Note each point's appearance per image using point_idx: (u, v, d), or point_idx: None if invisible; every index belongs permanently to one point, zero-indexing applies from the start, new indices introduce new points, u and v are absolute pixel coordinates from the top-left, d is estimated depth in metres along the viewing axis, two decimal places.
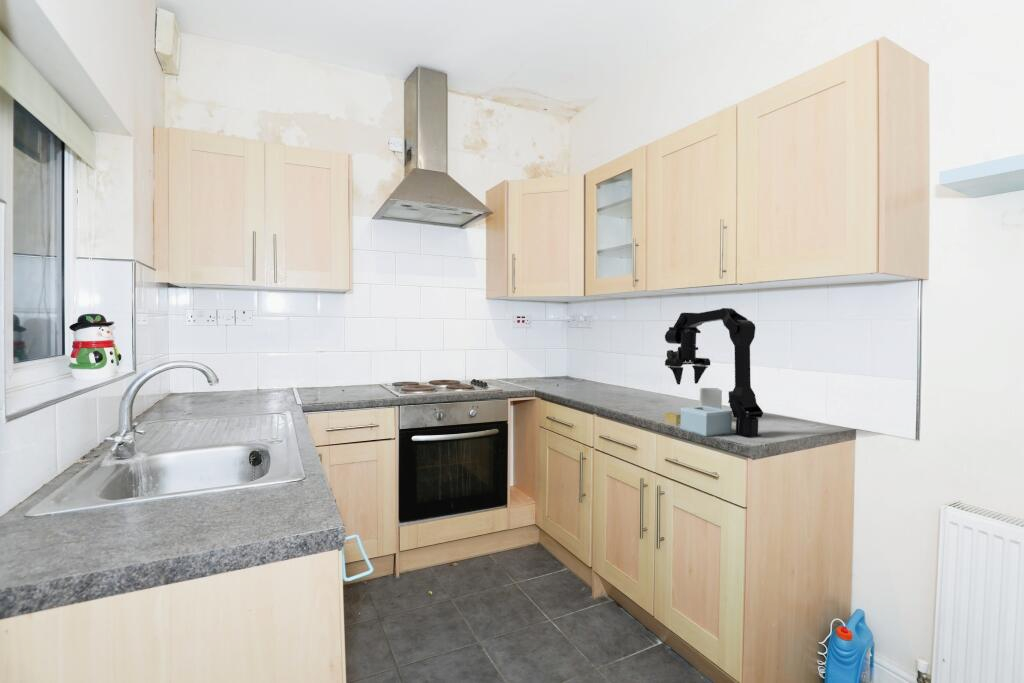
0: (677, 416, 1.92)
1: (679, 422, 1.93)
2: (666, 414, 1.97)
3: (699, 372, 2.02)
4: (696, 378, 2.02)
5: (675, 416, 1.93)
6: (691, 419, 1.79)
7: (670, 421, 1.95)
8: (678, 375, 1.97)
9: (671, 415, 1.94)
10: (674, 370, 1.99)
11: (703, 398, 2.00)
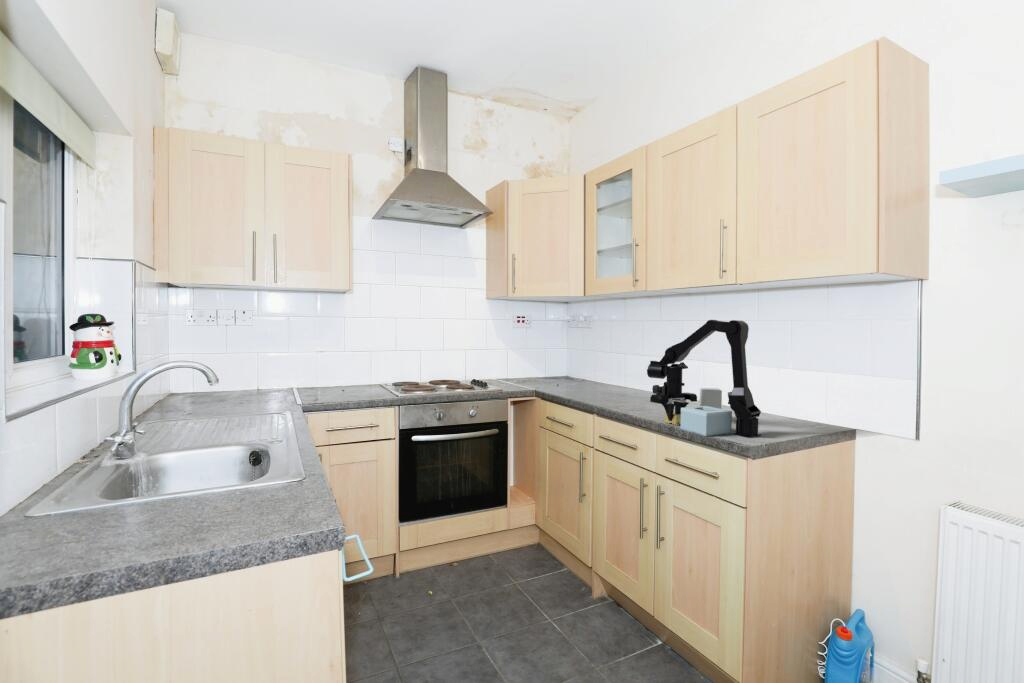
0: (677, 416, 1.92)
1: (679, 422, 1.93)
2: (666, 414, 1.97)
3: (680, 408, 1.95)
4: None
5: (675, 416, 1.93)
6: (691, 419, 1.79)
7: (670, 421, 1.95)
8: (670, 411, 1.93)
9: None
10: (666, 406, 1.95)
11: (703, 398, 2.00)
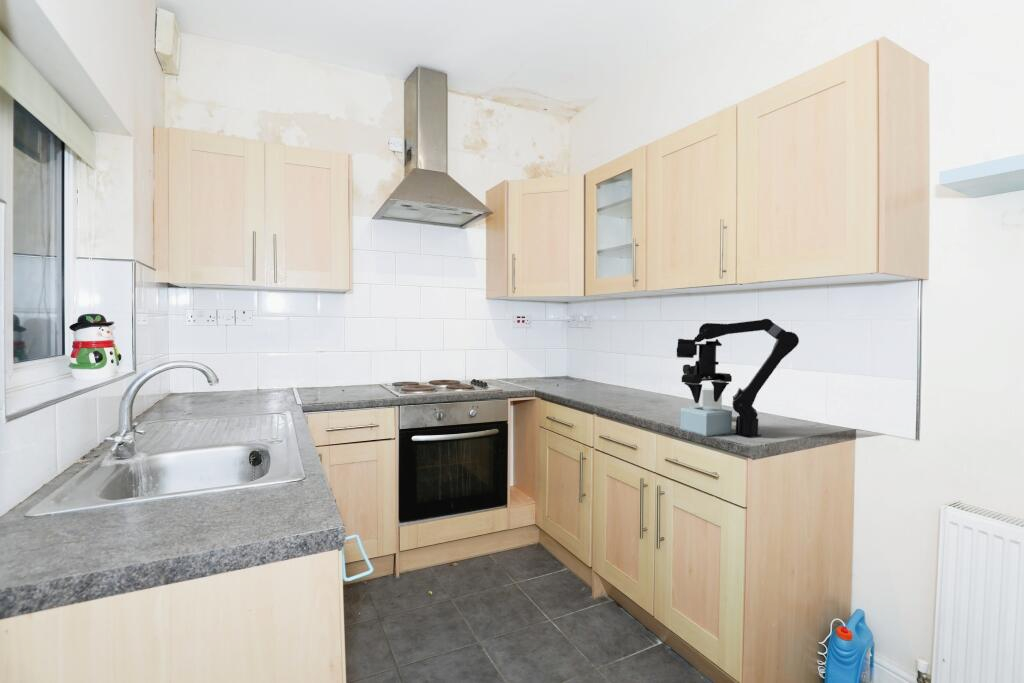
0: None
1: None
2: None
3: (719, 389, 1.81)
4: (716, 396, 1.82)
5: None
6: (691, 419, 1.79)
7: None
8: (696, 393, 1.77)
9: None
10: (692, 387, 1.79)
11: (703, 398, 2.00)
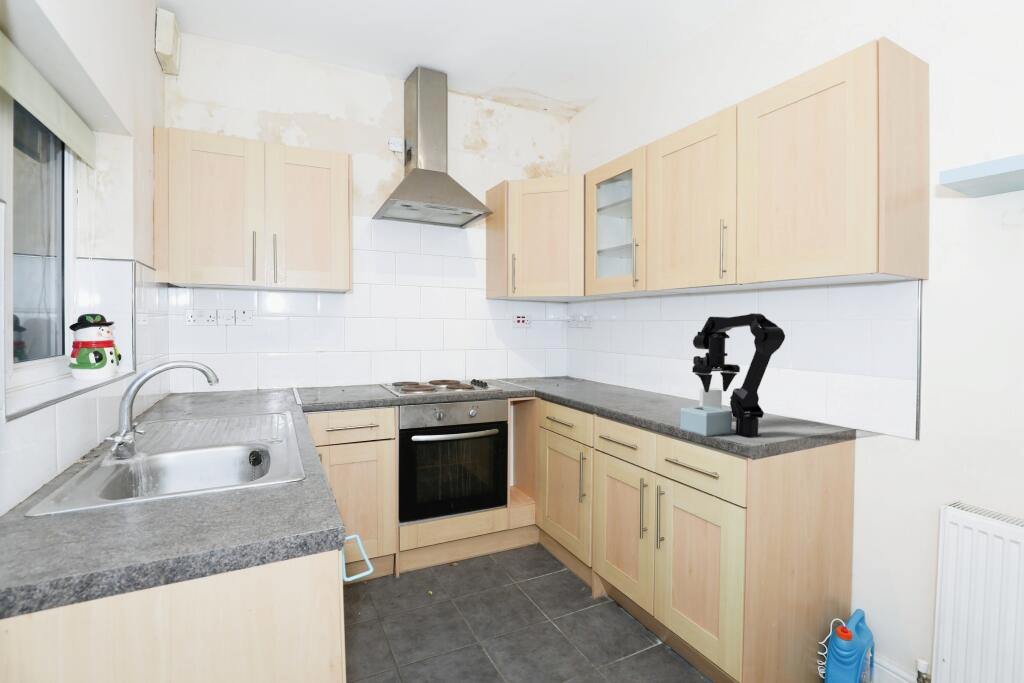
0: None
1: None
2: None
3: (728, 379, 1.91)
4: (725, 385, 1.92)
5: None
6: (691, 419, 1.79)
7: None
8: (706, 383, 1.87)
9: None
10: (702, 377, 1.89)
11: (703, 398, 2.00)
